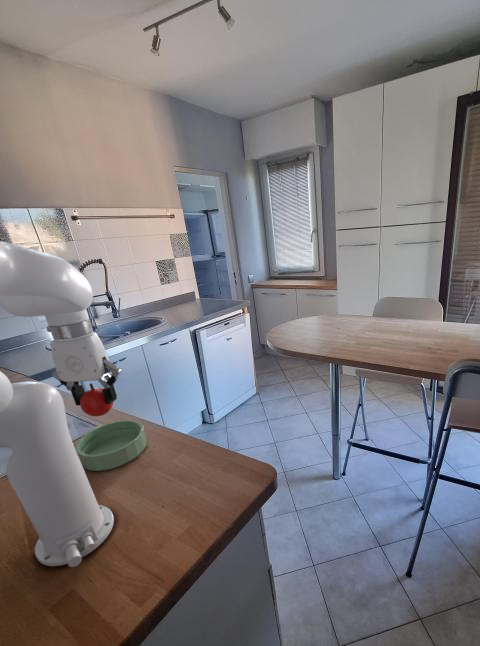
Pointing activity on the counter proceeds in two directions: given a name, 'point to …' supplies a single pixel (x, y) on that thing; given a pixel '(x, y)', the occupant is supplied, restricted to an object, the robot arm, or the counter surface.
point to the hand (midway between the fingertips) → (96, 401)
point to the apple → (94, 402)
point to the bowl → (111, 445)
